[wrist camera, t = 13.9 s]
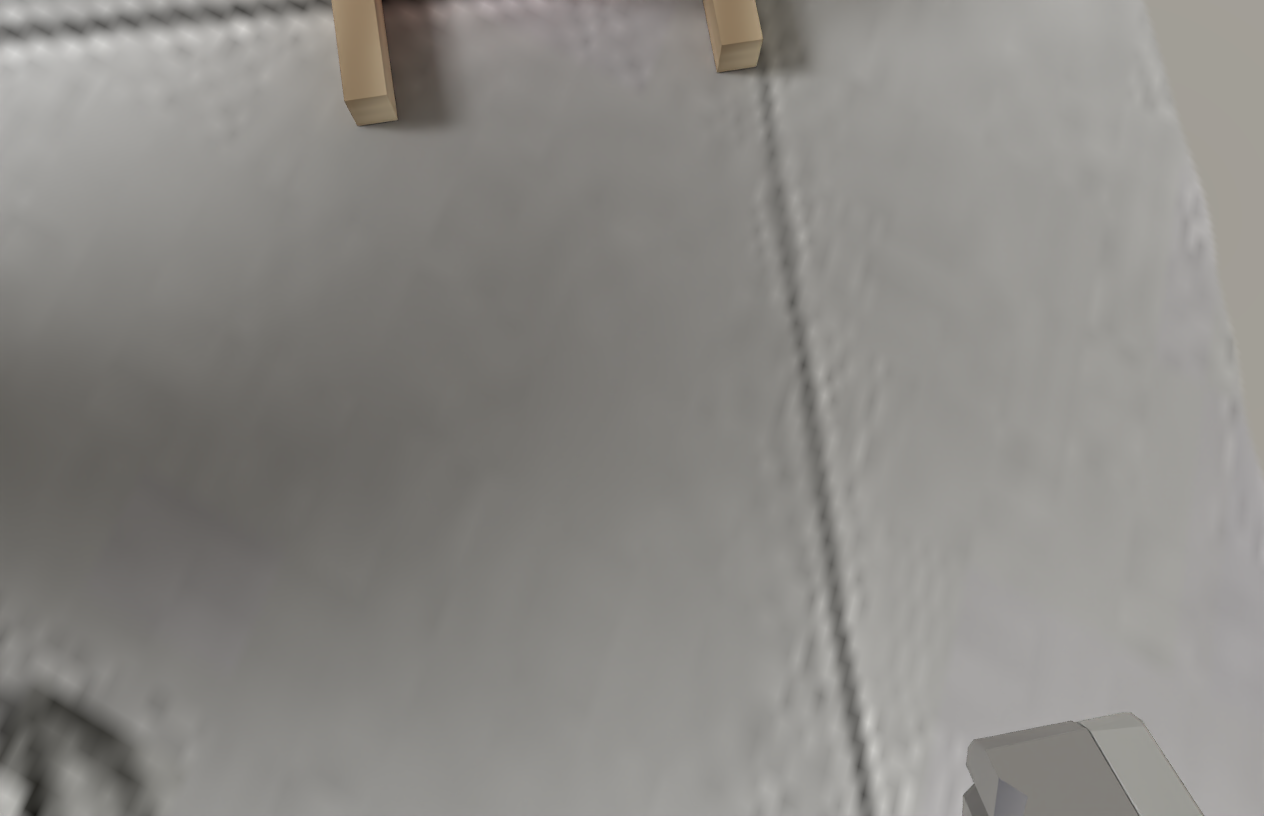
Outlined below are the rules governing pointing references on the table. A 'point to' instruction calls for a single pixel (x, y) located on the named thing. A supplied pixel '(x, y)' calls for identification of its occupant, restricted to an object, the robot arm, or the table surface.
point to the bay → (371, 70)
